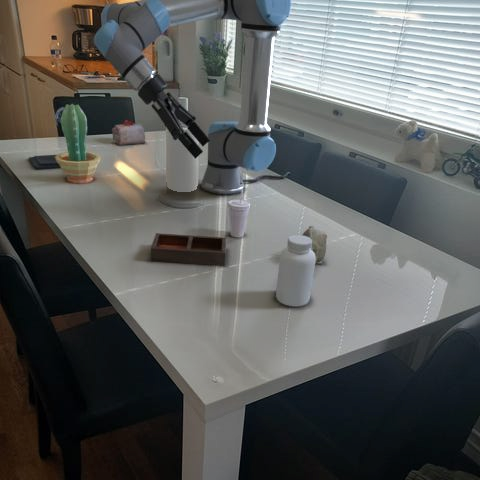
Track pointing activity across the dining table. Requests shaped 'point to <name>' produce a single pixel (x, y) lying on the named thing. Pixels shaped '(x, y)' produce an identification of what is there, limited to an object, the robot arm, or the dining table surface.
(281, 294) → the pill bottle
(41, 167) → the wallet
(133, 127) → the food item
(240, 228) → the smoothie
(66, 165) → the potted cactus
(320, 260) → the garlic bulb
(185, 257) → the tray
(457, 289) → the dining table surface
